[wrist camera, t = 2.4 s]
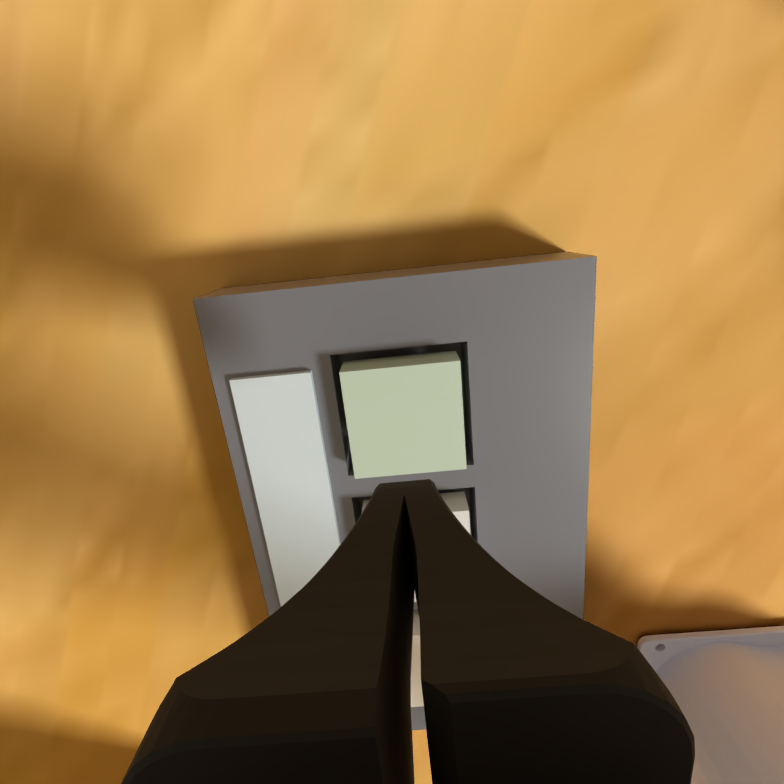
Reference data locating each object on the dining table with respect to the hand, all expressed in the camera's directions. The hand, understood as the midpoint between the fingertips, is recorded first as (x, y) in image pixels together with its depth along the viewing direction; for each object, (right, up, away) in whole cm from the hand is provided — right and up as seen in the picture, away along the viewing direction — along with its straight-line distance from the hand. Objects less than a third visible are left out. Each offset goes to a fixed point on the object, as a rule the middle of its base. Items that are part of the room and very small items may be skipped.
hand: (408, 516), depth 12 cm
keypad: (+1, -2, +11) cm, 12 cm away
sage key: (0, +2, +7) cm, 7 cm away
